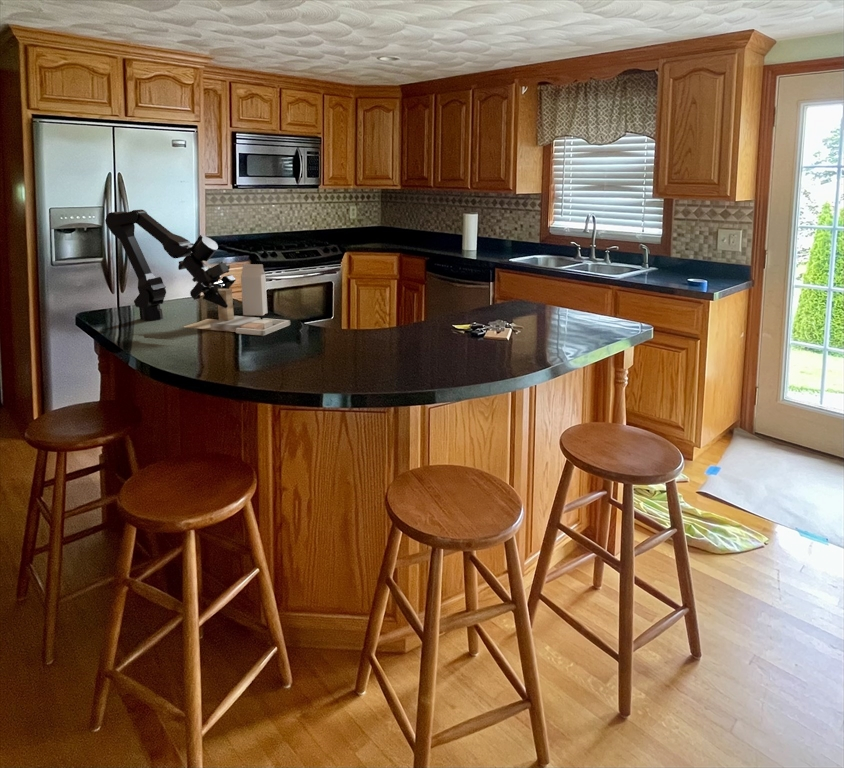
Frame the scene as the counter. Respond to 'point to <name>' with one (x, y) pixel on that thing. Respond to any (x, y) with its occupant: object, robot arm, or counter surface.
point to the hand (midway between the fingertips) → (230, 306)
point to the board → (203, 325)
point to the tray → (268, 330)
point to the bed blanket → (229, 314)
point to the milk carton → (253, 289)
